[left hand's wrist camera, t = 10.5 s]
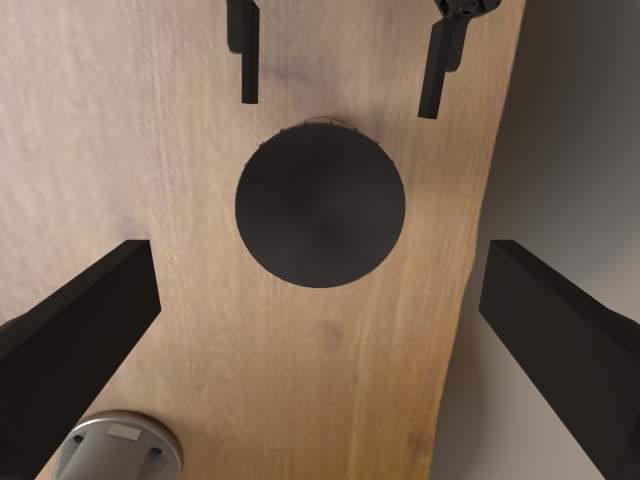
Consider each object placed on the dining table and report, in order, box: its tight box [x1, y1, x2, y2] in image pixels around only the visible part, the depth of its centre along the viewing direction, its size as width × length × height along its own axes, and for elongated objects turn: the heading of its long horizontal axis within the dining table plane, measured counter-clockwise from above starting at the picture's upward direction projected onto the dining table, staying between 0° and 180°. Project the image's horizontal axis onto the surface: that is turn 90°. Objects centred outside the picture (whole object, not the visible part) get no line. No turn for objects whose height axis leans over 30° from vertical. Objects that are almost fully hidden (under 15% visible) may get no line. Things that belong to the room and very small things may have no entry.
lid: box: [235, 120, 405, 288], centre depth 21 cm, size 9×9×2 cm
